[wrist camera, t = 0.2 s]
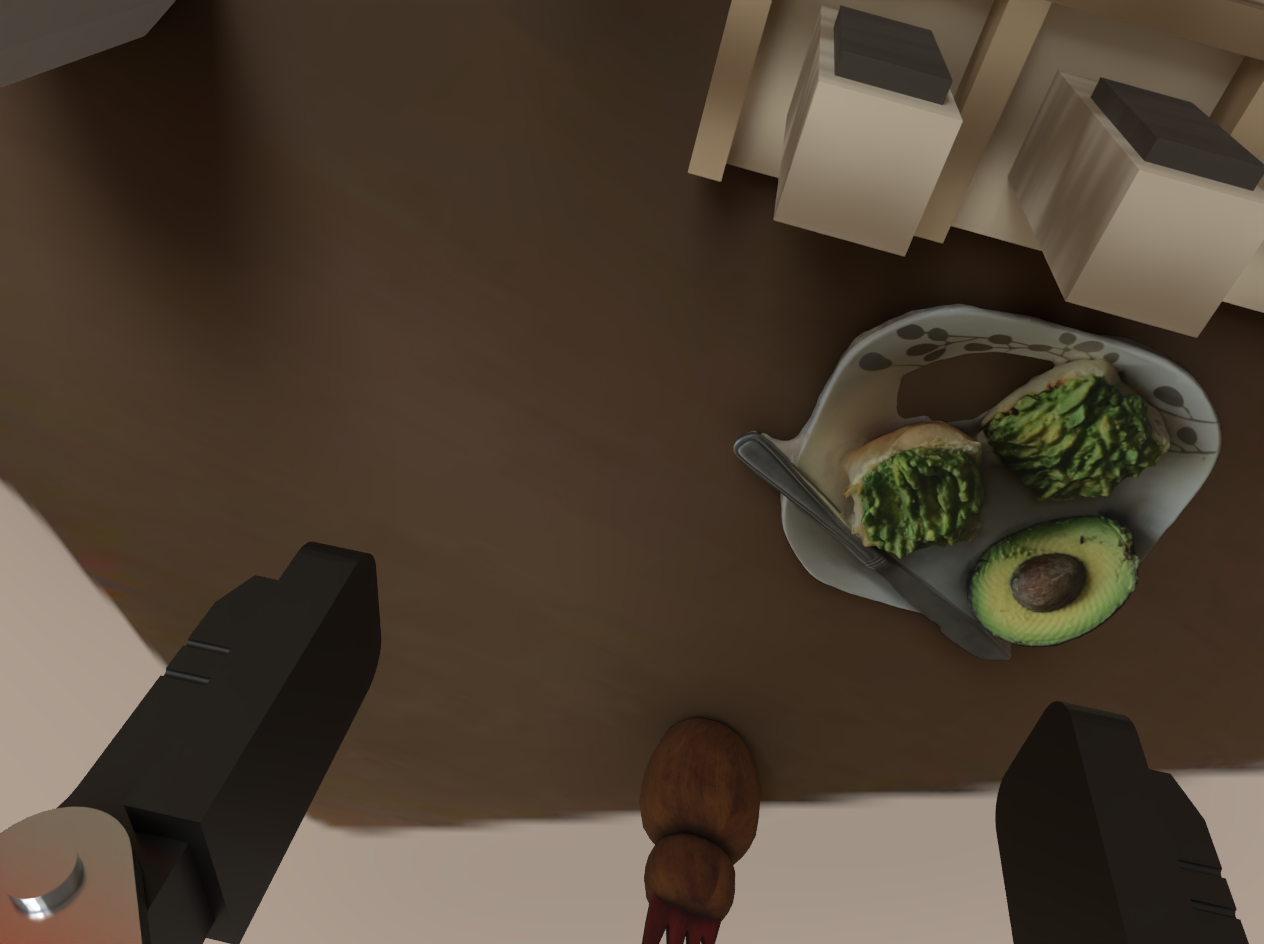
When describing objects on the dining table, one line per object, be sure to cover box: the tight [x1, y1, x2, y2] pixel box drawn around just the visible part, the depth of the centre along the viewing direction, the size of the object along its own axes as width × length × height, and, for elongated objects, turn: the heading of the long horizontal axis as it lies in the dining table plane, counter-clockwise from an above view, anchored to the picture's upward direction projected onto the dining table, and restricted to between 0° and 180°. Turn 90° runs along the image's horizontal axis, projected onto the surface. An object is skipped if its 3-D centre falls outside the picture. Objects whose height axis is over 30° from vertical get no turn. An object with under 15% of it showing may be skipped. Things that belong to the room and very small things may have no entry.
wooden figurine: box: [640, 718, 761, 944], centre depth 50 cm, size 7×6×15 cm
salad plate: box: [734, 304, 1221, 660], centre depth 41 cm, size 19×18×5 cm
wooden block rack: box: [688, 0, 1264, 338], centre depth 28 cm, size 9×25×12 cm, turn 78°
